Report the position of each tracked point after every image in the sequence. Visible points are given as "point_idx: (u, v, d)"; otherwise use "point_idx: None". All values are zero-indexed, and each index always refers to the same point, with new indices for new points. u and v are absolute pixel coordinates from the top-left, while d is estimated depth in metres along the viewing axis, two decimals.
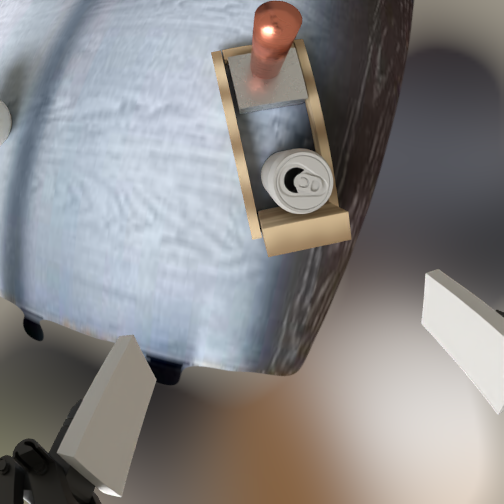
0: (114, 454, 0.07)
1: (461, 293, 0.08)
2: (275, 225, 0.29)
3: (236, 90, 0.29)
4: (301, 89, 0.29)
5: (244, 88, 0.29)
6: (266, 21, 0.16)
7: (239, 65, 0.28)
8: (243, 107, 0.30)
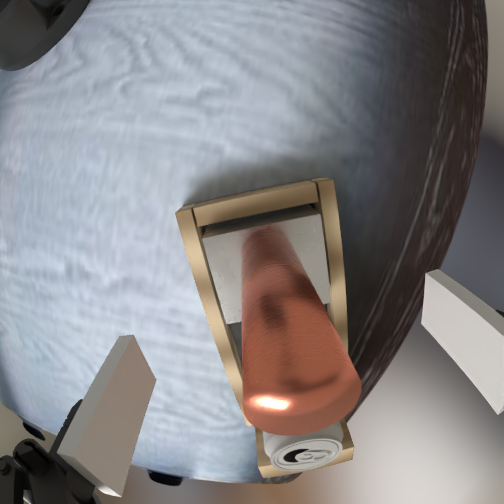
0: (114, 454, 0.07)
1: (461, 293, 0.08)
2: None
3: (220, 297, 0.21)
4: (322, 290, 0.21)
5: (232, 295, 0.21)
6: (272, 415, 0.08)
7: (223, 254, 0.20)
8: (232, 321, 0.21)
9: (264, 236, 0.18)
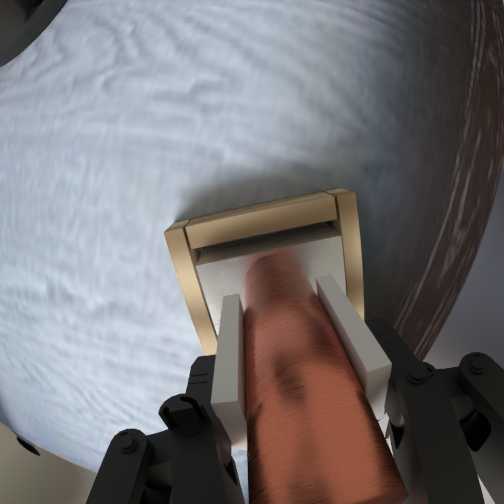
0: None
1: (336, 298, 0.11)
2: None
3: None
4: None
5: None
6: None
7: (221, 285, 0.16)
8: None
9: (273, 265, 0.14)
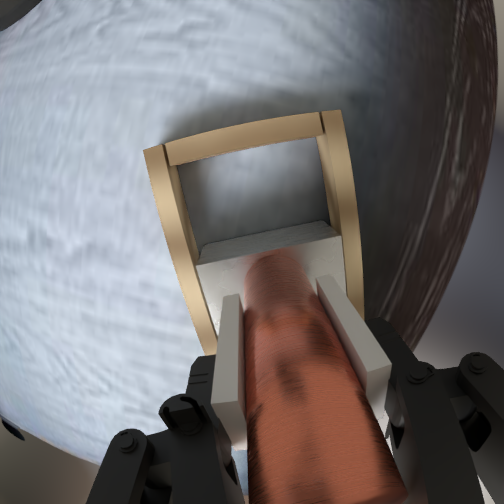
0: None
1: (336, 298, 0.11)
2: None
3: None
4: None
5: None
6: None
7: (221, 285, 0.16)
8: None
9: (273, 265, 0.14)
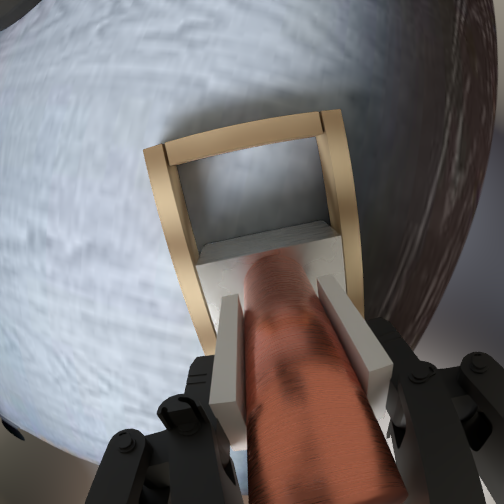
0: None
1: (337, 298, 0.11)
2: None
3: None
4: None
5: None
6: None
7: (221, 285, 0.16)
8: None
9: (273, 265, 0.14)
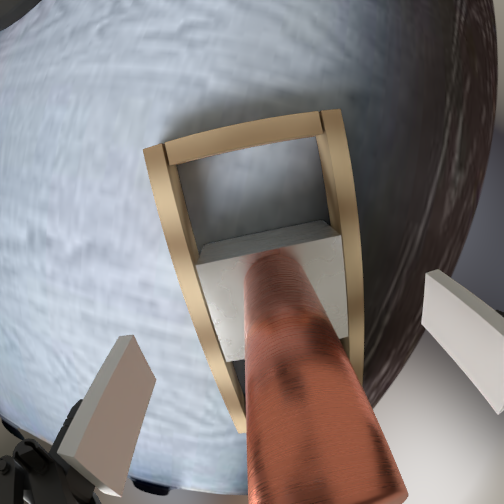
0: (114, 454, 0.07)
1: (461, 293, 0.08)
2: None
3: (218, 333, 0.17)
4: (339, 323, 0.17)
5: (233, 330, 0.17)
6: None
7: (221, 284, 0.16)
8: (233, 359, 0.18)
9: (273, 265, 0.14)
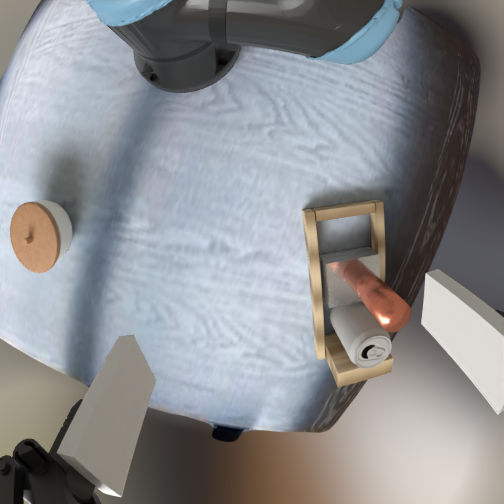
0: (114, 454, 0.07)
1: (461, 293, 0.08)
2: (346, 369, 0.37)
3: (329, 293, 0.39)
4: None
5: (335, 292, 0.39)
6: (388, 322, 0.26)
7: (335, 272, 0.38)
8: (332, 306, 0.40)
9: (358, 264, 0.37)
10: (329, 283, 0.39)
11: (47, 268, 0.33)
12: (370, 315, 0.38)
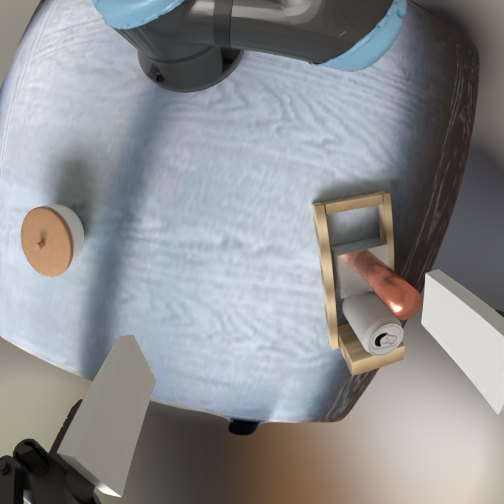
0: (114, 454, 0.07)
1: (461, 293, 0.08)
2: (360, 358, 0.38)
3: (341, 284, 0.40)
4: None
5: (347, 283, 0.40)
6: (400, 310, 0.27)
7: (346, 263, 0.39)
8: (344, 297, 0.41)
9: (368, 255, 0.37)
10: (341, 274, 0.40)
11: (61, 272, 0.34)
12: (382, 304, 0.38)
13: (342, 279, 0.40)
